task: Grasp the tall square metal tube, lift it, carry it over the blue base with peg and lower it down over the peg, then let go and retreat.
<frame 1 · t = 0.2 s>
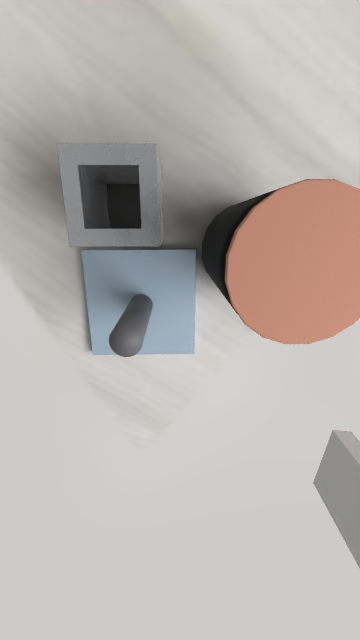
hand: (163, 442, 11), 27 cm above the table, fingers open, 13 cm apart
square metal tube: (129, 206, 33), on the table
coffee jar: (242, 249, 35), on the table
blue base with peg: (142, 303, 37), on the table
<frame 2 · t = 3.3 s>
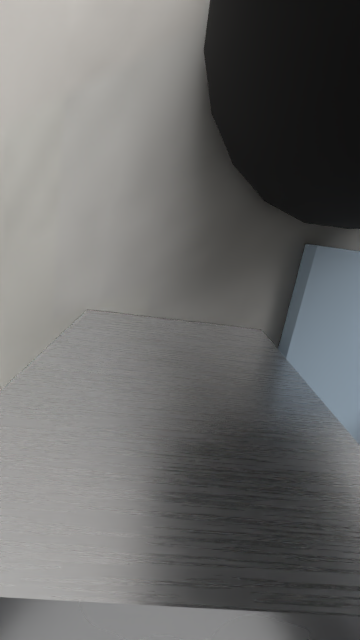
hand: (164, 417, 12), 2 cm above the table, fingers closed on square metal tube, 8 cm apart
square metal tube: (166, 394, 14), on the table, touching gripper
coffee jar: (347, 72, 10), on the table
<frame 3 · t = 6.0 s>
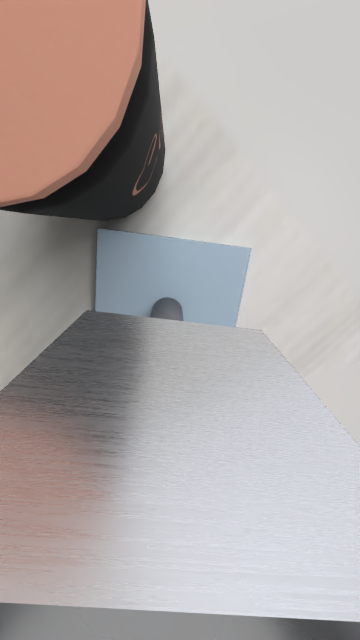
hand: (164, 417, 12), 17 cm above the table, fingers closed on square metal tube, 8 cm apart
square metal tube: (166, 395, 14), point 15 cm above the table, touching gripper
coffee jar: (103, 155, 24), on the table
blue base with peg: (167, 309, 28), on the table
when the fingers open (5 cm above the table, at t = 8.8 s): square metal tube drops 2 cm, resting on blue base with peg.
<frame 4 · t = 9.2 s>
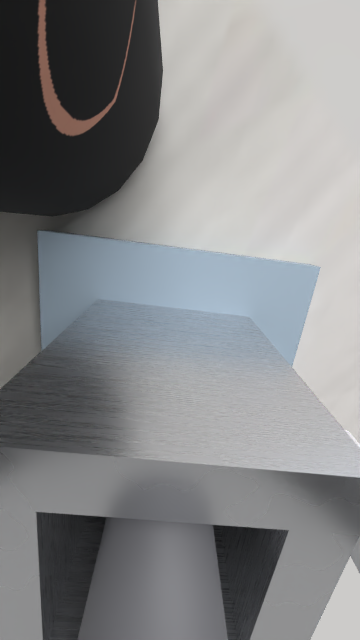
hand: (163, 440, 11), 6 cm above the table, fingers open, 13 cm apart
square metal tube: (166, 374, 16), point 1 cm above the table, touching blue base with peg
coffee jar: (45, 90, 12), on the table
blue base with peg: (167, 366, 17), on the table
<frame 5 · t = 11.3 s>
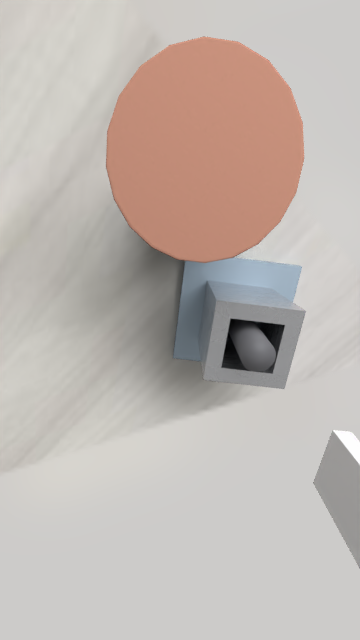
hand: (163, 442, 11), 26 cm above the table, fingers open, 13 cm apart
square metal tube: (233, 315, 35), point 1 cm above the table, touching blue base with peg
coffee jar: (192, 198, 32), on the table
blue base with peg: (232, 312, 36), on the table
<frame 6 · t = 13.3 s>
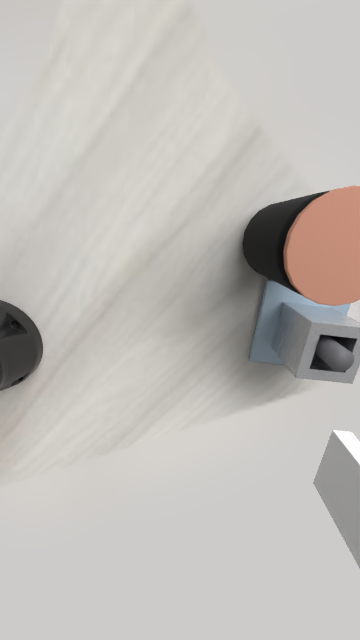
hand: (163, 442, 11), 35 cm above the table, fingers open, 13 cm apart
square metal tube: (300, 327, 45), point 1 cm above the table, touching blue base with peg
coffee jar: (275, 240, 42), on the table
blue base with peg: (297, 325, 46), on the table
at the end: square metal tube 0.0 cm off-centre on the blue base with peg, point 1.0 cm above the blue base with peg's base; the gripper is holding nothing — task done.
